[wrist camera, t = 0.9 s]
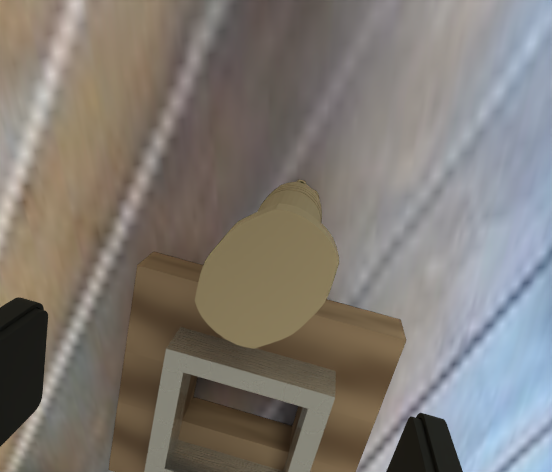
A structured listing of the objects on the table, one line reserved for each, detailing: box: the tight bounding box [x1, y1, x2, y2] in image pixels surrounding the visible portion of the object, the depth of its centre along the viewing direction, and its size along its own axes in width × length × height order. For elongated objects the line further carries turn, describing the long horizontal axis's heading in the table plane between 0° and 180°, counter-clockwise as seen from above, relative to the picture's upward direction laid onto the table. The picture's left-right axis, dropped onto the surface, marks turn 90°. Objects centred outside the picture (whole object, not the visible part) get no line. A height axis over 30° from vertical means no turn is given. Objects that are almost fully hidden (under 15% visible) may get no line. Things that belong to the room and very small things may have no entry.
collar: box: [144, 327, 336, 472], centre depth 33 cm, size 12×12×3 cm
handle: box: [195, 180, 339, 349], centre depth 25 cm, size 5×6×15 cm
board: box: [109, 252, 406, 472], centre depth 36 cm, size 20×20×3 cm
